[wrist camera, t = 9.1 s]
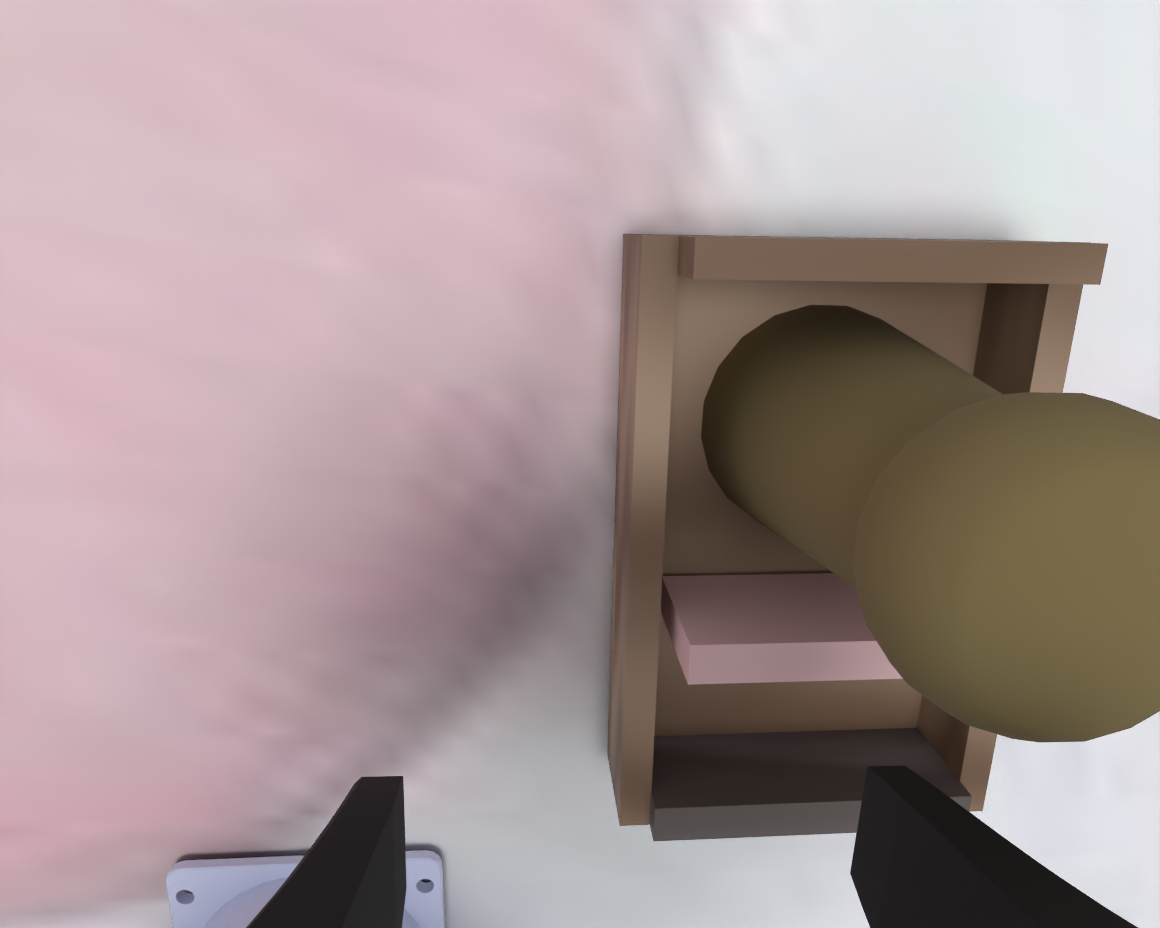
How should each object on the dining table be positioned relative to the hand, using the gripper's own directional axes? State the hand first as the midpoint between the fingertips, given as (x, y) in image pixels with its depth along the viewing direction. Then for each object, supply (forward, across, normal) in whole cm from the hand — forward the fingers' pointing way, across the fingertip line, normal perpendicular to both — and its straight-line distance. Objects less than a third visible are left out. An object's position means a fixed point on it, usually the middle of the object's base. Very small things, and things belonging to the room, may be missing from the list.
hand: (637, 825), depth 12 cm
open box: (+10, -6, -1) cm, 12 cm away
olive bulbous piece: (+10, -6, -4) cm, 12 cm away
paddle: (+9, -6, +1) cm, 11 cm away
